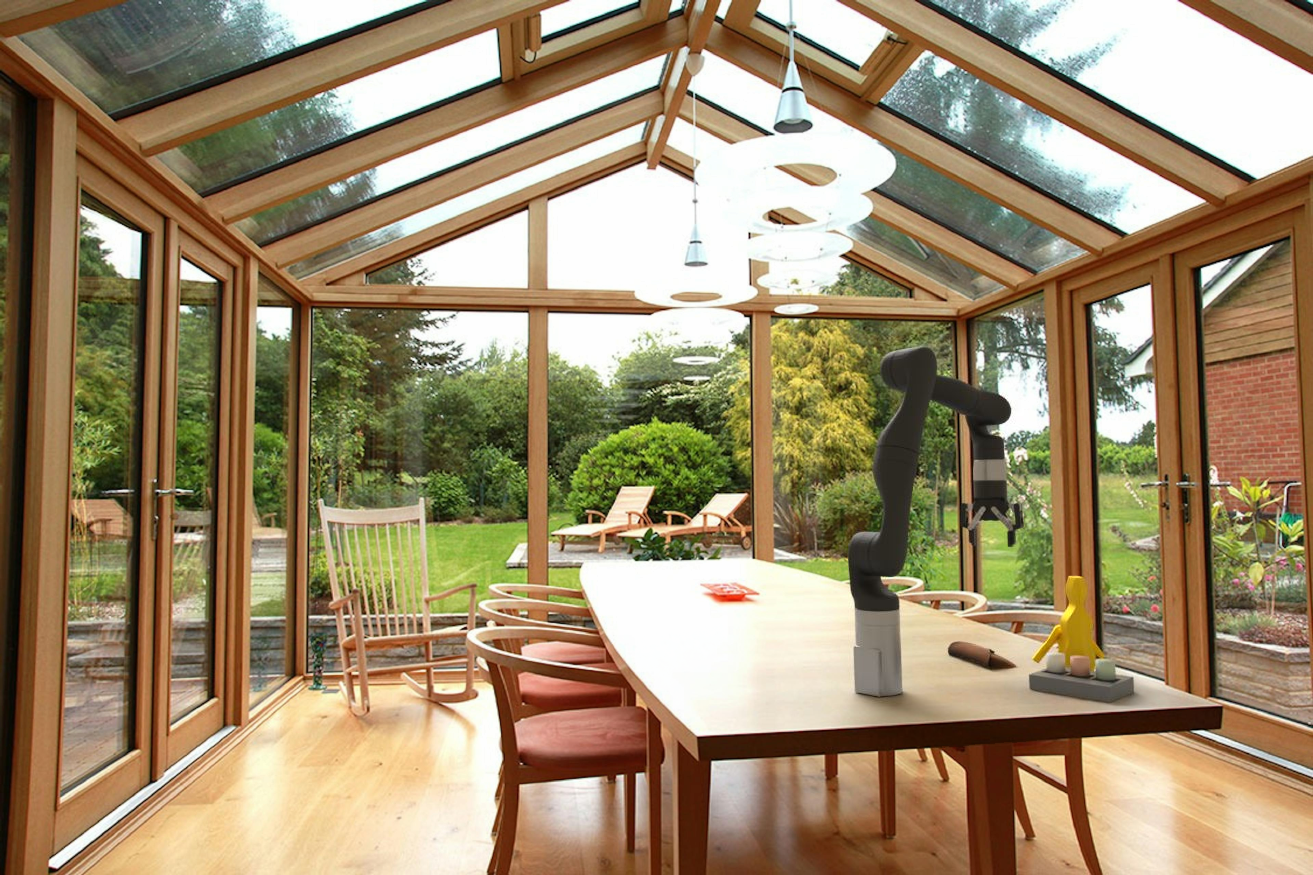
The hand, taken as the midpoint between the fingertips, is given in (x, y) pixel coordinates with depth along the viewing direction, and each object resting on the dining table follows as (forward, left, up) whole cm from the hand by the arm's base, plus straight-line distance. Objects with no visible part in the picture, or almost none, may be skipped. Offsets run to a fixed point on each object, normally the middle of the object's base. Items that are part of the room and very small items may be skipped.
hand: (992, 546), depth 208 cm
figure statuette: (0, -18, -28) cm, 33 cm away
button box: (-14, -25, -28) cm, 40 cm away
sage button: (-14, -30, -24) cm, 41 cm away
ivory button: (-14, -20, -24) cm, 35 cm away
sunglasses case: (-1, +3, -28) cm, 29 cm away
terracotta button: (-14, -25, -24) cm, 38 cm away
